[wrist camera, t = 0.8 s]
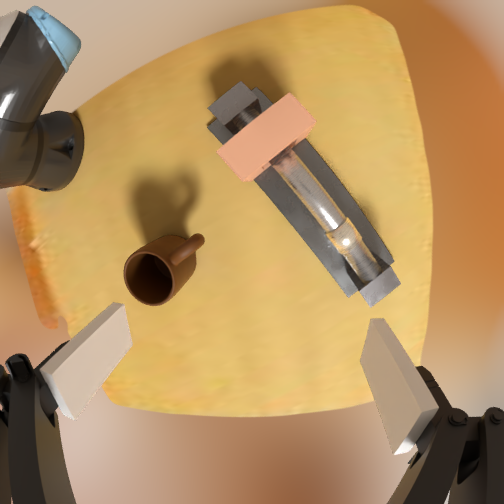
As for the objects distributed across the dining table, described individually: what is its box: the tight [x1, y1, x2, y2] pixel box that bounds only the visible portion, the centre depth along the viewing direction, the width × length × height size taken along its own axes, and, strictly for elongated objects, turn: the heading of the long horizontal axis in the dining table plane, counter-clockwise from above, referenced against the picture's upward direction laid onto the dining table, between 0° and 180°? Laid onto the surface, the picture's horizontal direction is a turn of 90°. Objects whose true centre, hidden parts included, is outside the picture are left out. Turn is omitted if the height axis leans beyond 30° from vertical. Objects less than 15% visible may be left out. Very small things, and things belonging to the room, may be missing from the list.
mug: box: [124, 233, 205, 306], centre depth 35 cm, size 12×8×9 cm, turn 126°
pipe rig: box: [207, 81, 401, 308], centre depth 32 cm, size 32×9×8 cm, turn 41°
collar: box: [216, 92, 317, 181], centre depth 29 cm, size 4×10×10 cm, turn 131°
